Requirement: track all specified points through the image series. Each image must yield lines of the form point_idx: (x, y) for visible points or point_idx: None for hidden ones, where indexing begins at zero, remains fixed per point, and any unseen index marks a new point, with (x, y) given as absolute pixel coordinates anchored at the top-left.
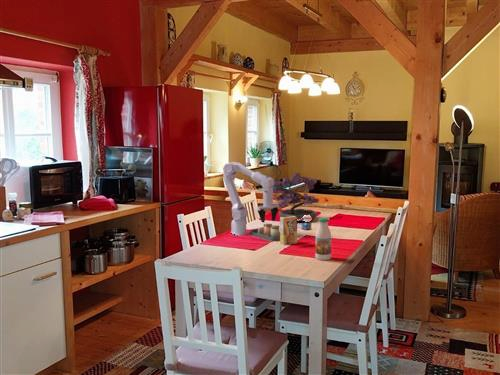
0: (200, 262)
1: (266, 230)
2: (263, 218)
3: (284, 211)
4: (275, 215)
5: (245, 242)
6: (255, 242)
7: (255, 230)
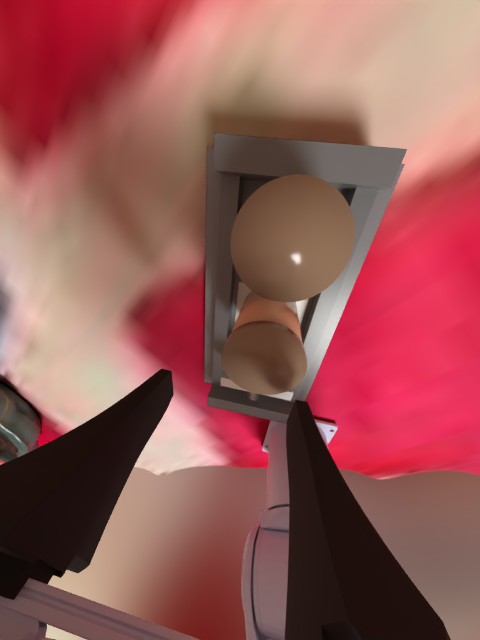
0: None
1: (299, 325)
2: (327, 448)
3: (4, 456)
4: (118, 413)
5: (471, 332)
6: (440, 283)
7: (270, 404)
